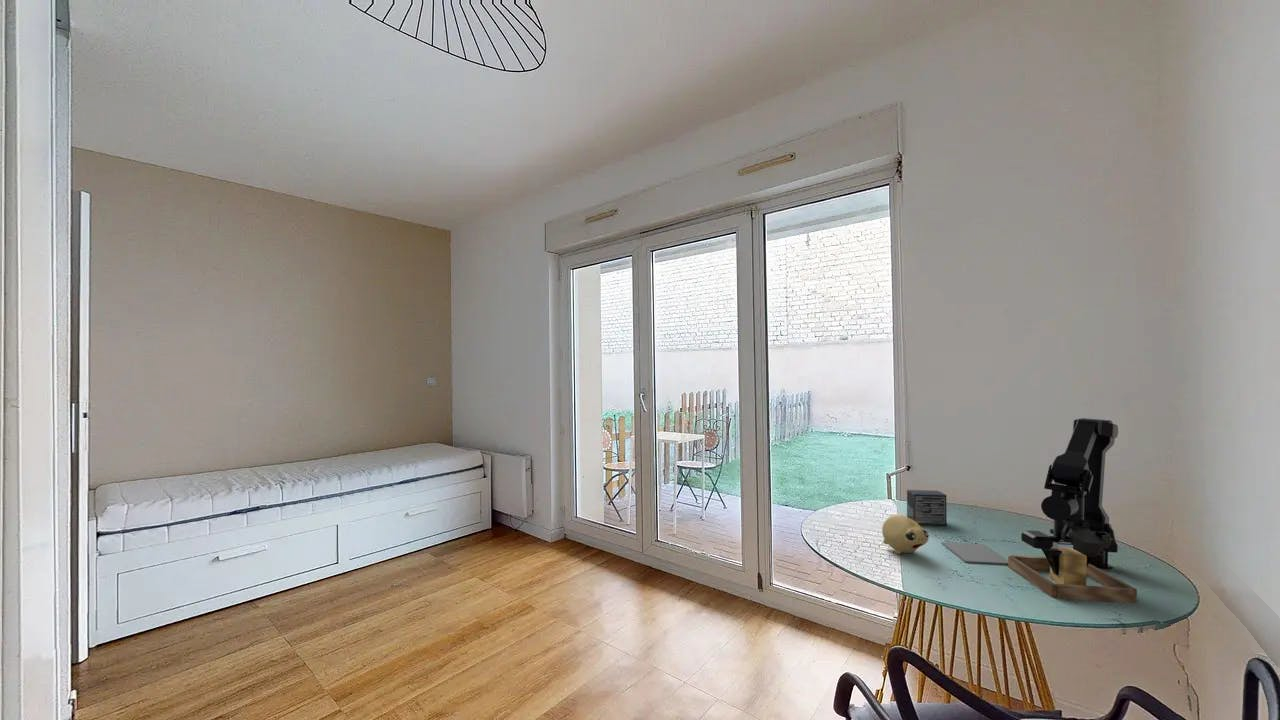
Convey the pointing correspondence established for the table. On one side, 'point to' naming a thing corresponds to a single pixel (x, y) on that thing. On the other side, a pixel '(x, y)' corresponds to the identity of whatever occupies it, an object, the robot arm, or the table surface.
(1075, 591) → the wooden picture frame
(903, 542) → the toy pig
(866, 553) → the table surface
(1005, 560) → the mat
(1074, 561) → the ochre block
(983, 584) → the table surface
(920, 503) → the small box
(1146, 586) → the table surface
